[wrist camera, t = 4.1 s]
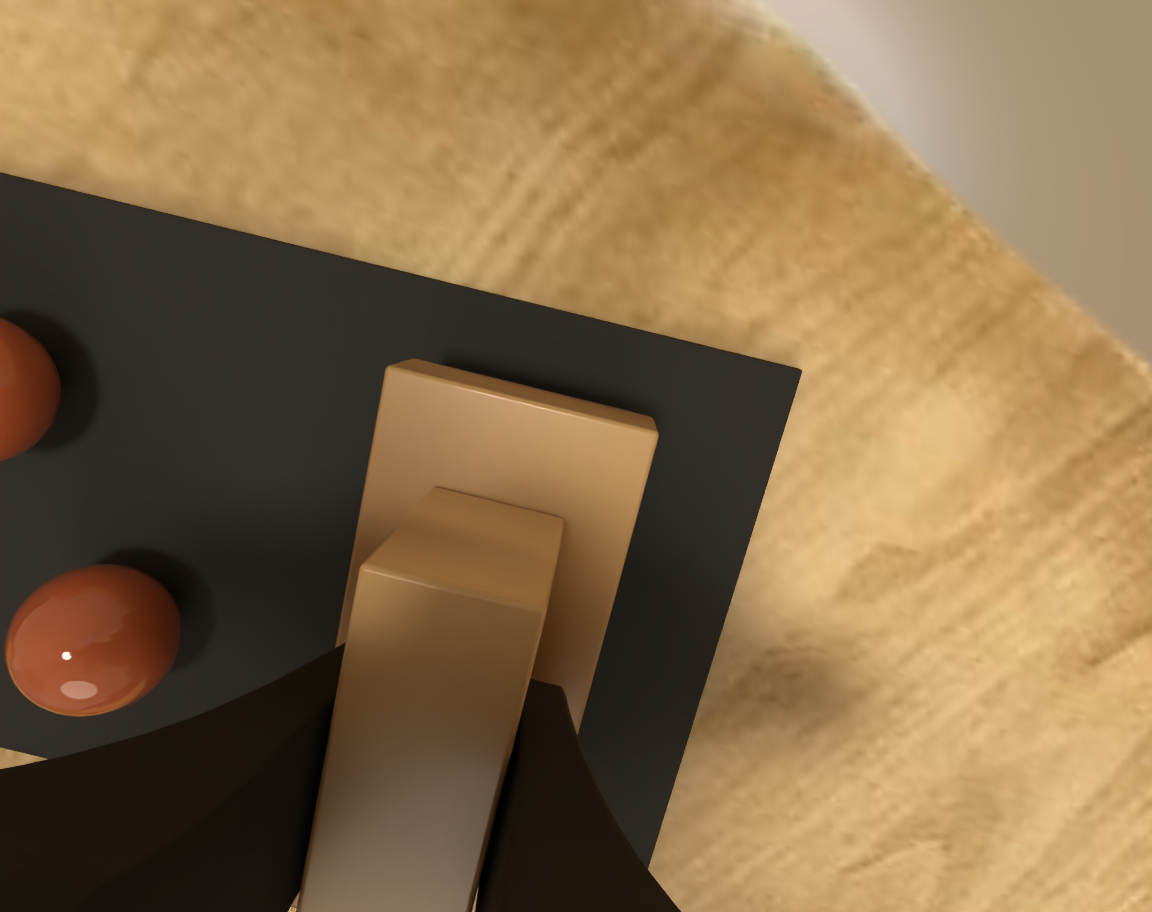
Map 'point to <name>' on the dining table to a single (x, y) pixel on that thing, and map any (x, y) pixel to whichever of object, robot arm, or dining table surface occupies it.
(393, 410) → the brush
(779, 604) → the dining table surface
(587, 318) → the mat
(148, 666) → the red-brown glossy ball
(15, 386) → the orange glossy ball
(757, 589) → the dining table surface
